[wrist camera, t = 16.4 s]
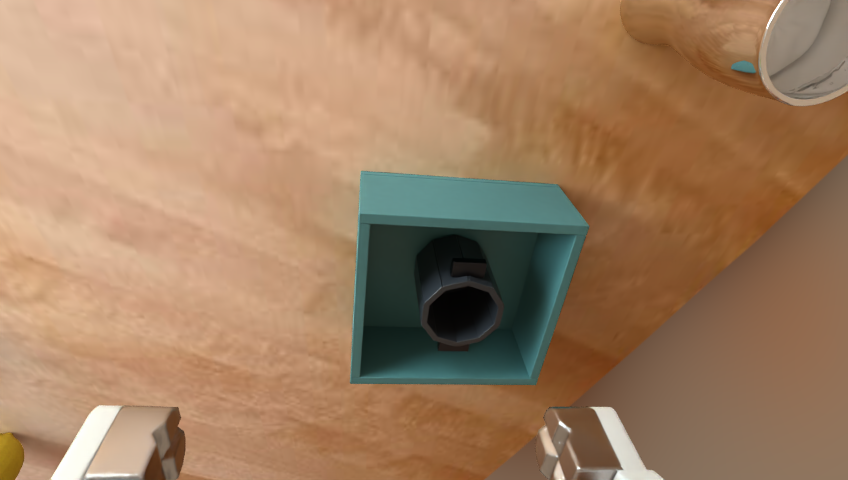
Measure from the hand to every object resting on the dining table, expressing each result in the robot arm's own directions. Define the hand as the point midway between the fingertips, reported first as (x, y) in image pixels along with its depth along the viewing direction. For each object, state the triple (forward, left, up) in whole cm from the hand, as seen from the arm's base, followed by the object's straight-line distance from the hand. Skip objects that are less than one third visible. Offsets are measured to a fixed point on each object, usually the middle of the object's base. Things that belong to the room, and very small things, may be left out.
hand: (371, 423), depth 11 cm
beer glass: (-8, +20, -29) cm, 36 cm away
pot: (+15, +8, -28) cm, 33 cm away
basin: (+15, +8, -29) cm, 34 cm away
